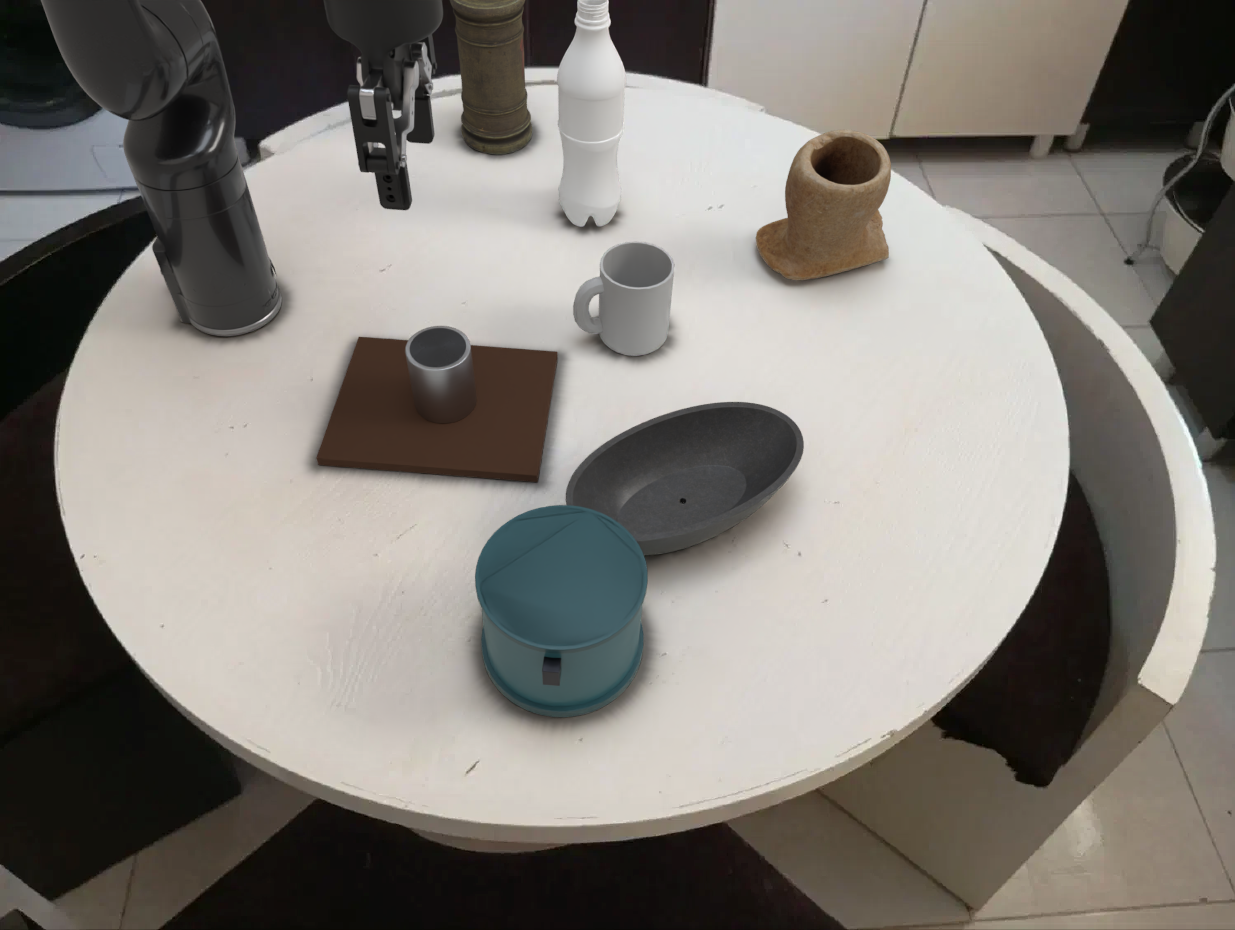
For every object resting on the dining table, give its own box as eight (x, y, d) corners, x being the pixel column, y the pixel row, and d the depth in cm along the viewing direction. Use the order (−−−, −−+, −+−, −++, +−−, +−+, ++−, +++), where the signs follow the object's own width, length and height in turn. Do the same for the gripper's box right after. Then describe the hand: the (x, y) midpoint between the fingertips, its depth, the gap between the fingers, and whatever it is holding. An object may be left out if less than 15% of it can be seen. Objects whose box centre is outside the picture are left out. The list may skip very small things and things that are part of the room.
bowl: (822, 514, 88) (836, 470, 83) (604, 614, 81) (606, 572, 76) (746, 423, 95) (756, 378, 90) (539, 508, 87) (537, 463, 83)
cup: (677, 350, 101) (685, 282, 94) (582, 368, 99) (583, 300, 92) (655, 304, 105) (661, 236, 98) (564, 321, 103) (563, 252, 96)
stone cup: (787, 306, 106) (813, 186, 94) (742, 239, 113) (761, 120, 101) (911, 279, 109) (951, 160, 98) (860, 216, 116) (892, 98, 105)
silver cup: (409, 421, 92) (398, 367, 87) (421, 377, 96) (412, 322, 90) (471, 426, 92) (464, 372, 87) (481, 381, 96) (475, 327, 90)
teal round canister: (467, 718, 75) (455, 653, 67) (496, 562, 84) (488, 489, 76) (637, 732, 74) (645, 669, 67) (647, 574, 83) (655, 502, 76)
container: (505, 163, 121) (496, 18, 107) (446, 139, 124) (430, -5, 110) (547, 130, 126) (543, -14, 112) (490, 107, 129) (479, -35, 115)
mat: (318, 465, 90) (315, 458, 89) (360, 343, 100) (358, 336, 99) (538, 482, 89) (537, 475, 88) (557, 358, 99) (557, 351, 99)
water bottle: (632, 210, 116) (644, -5, 96) (598, 241, 112) (604, 24, 92) (581, 188, 118) (582, -25, 99) (546, 219, 114) (540, 2, 95)
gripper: (344, -101, 67) (380, 118, 79) (283, -2, 58) (335, 227, 70) (455, -94, 66) (474, 124, 79) (412, 6, 57) (440, 235, 70)
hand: (409, 172), depth 74 cm, fingers open, 8 cm apart
